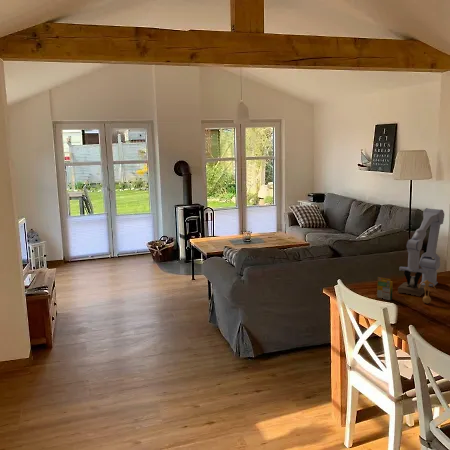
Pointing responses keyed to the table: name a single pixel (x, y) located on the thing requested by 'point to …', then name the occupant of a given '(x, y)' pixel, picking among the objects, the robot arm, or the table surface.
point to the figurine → (426, 298)
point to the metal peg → (412, 282)
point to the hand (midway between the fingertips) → (412, 284)
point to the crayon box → (384, 288)
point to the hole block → (411, 289)
